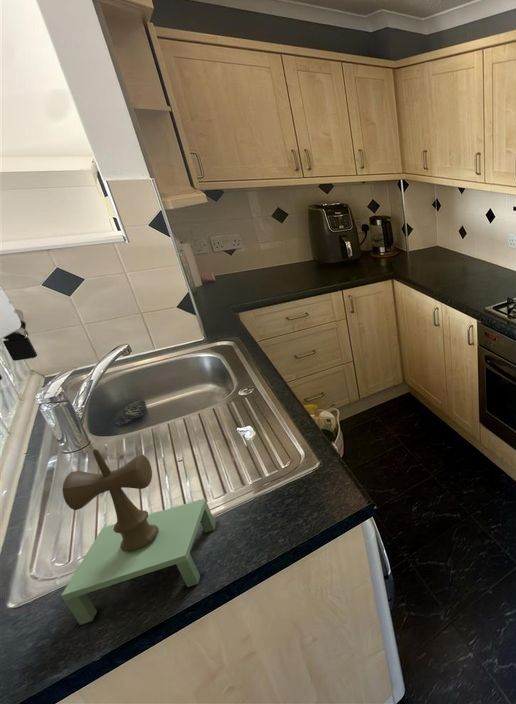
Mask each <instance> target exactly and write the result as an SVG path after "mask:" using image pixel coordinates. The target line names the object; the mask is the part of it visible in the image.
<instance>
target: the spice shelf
mask: <svg viewBox="0 0 516 704" xmlns="http://www.w3.org/2000/svg"><path fill="white" fill-rule="evenodd" d="M213 516H214V515H213V514H212V511H211V509H210V507H209V504H208V501H207V499H206V498H202V499H197V500H194V501H190V502H187V503H184V504H181V505H176V506H173V507H169V508H166V509H162V510H159V511H155V512H152V513H148V518H147V521H148V523H149V524H150V525H156V526H157V527H158V528H159V530H158V534H157V535H156V537H155V538H154V539H153V540H152V541H151V542H150V543H148V544H147V545H145V546H144V547H141V548H139V549H137V550H133V551H123V550H122V549H121V548H120V546H121V542H122V540H123V538H122V535H121V534H120V533H116V532H115V531H114V530H113V529H114V525H115V524H116V523H114V524H111V525H107V526H104V527H102V528H101V529H100V531H99V533H98V534H97V536H96V537H95V539H94V541H93V542H92V545H91V546H90V547H89V549H88V551H87V552H86V554H85V556H84V557H83V558H82V561H81V562H80V564H79V565H78V567H77V568H76V570H75V572H74V574H73V575H72V577H71V578H70V580H69V582H68V583H67V585H66V587H65V588H64V590H63V591H62V593H61V595H60V597H61V598H62V600H63V602H64V603H65V604H66V606H67V608H68V609H69V611H70V612H71V613H72V615H73V616H74V618H75V620H76V621H77V622H78V624H79V626H81V625H84V624H87V623H90V622H92V621H94V619H95V616H96V615H97V613H98V611H97V609H96V607H95V606H94V604H93V603H92V601H91V599H90V598H89V596H88V594H89V593H92V592H95V591H98V590H101V589H104V588H108V587H111V586H113V585H116V584H119V583H122V582H125V581H129V580H132V579H135V578H138V577H141V576H144V575H147V574H150V573H154V572H156V571H159V570H163V569H166V568H168V567H171V566H174V565H176V567H177V569H178V571H179V573H180V575H181V577H182V579H183V581H184V584H185V585H186V588H190V587H193V586H195V585H198V584H199V581H200V579H201V574H200V572H199V570H198V568H197V566H196V564H195V562H194V559H193V557H192V555H191V550H192V547H193V544H194V541H195V539H196V535H197V533H198V530H199V527H200V525H201V527H202V530H203V532H204V534H206V533H210V532H212V531H215V528H216V525H217V524H216V521H215V519H214V517H213Z"/></svg>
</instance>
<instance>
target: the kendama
mask: <svg viewBox="0 0 516 704" xmlns="http://www.w3.org/2000/svg"><path fill="white" fill-rule="evenodd" d="M92 453H93V456H94V459H95V461H96V464H97V466H98V468H99V470H100V472H101V473H93V472H87V471H82V470H75V471H71V472H70V473H68V475H66V476H65V479H64V481H63V484H62V488H61V489H62V497H63V499H64V502H65V504H66V505H67V506H68V508H69V509H71V510H73V511H78V510H81V509H83V508H85V507H86V506H87V505H88V504H89V503H90V502H92V501H93V500H94V499H95V498H96V497H97V496H99V495H100V494H104V493H106V492H109V494H110V497H111V499H112V503H113V506H114V511H115V515H116V522H115V523H114V524H115V525H114V524H113V525H114V529H113V530H114V531H115V532H116V533H120V534H121V535H122V538H123V540H122V542H121V546H120V548H121V549H122V550H123V551H133V550H137V549H139V548H141V547H144V546H145V545H147V544H148V543H150V542H151V541H152V540H153V539H154V538H155V537H156V535H157V534H158V530H159V528H158V527H157V526H156V525H150V524H149V523H148V521H147V518H148V514H149V511H147V510H143V509H142V510H141V509H139V508H138V507H137V506H136V505H135V504H134V503H133V502H132V500H131V499H130V498H129V497H128V495H127V494H126V493H125V491H124V490H123V489H125V488H127V489H136V490H137V489H138V490H144V489H146V488H148V487H149V486H150V484H151V482H152V479H153V470H152V469H153V468H152V466H151V462H150V460H149V459H148V458H147V456H145V455H144V454H139V455H137V456H135V457H133V458H132V459H131V460H130V461H128V462H127V463H125V464H124V465H122V466H120V467H119V468H116V469H114V470H111V469H110V467H109V466H108V464H107V462H106V460H105V459H104V457H103V455H102V453H101V452H100V451H99V449H97V448H94V449H93V450H92Z"/></svg>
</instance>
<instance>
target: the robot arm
mask: <svg viewBox="0 0 516 704" xmlns="http://www.w3.org/2000/svg"><path fill="white" fill-rule="evenodd" d="M24 320H25V319H24V314H23V311H22V310H21V309H15V307H14V306H13V304H12V302H11V301H10V299H9V297H8V296H7V294H6V293H5V291H4V290H3V288H2V287H1V286H0V340H2V339H4V340H3V341H2V343H3V345H4V347H5V349H6V351H7V352H8V354H9V356H10V358H11V360H12V361H15V362H18V361H23V360H30V359H35V358H37V357H38V354H37V351H36V350H35V348H34V345H33V343H32V341H31V340H30V338H29V335H30V334H29V332H28V331H27V330H26V327H27V324H26V323H27V322H26V321H24ZM1 380H3V376H2V375H1V374H0V381H1Z"/></svg>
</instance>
